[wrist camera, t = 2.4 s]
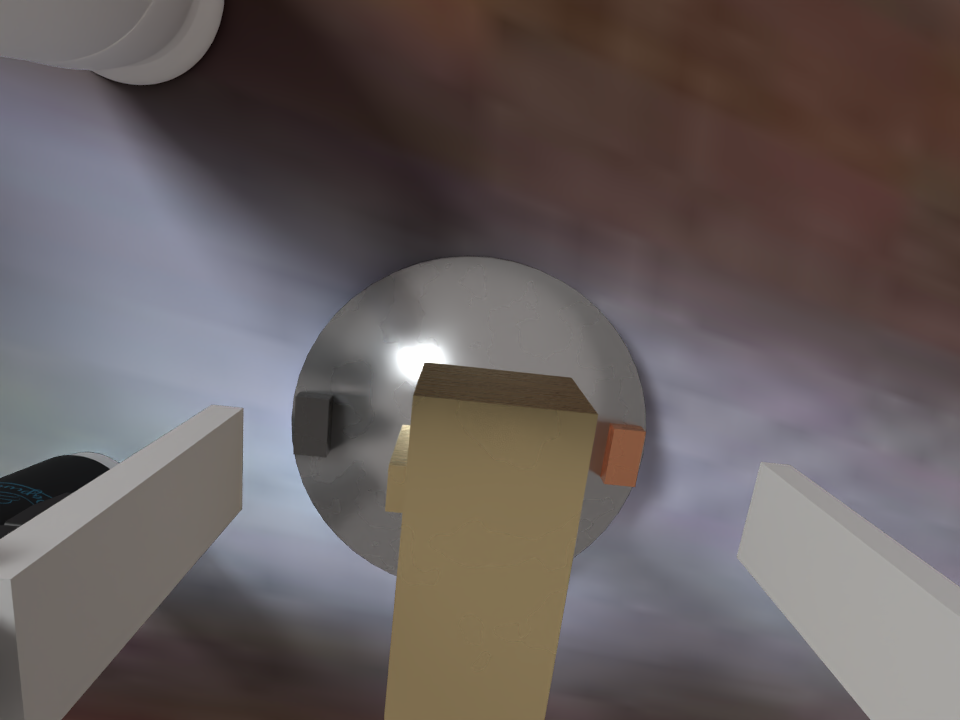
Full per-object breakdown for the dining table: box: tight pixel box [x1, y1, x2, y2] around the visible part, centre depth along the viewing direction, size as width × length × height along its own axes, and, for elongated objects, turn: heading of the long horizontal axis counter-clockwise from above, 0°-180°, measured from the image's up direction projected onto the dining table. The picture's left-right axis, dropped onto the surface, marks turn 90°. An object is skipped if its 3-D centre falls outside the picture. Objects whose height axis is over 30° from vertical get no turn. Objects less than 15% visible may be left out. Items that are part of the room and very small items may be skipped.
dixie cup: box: [0, 452, 119, 525], centre depth 23 cm, size 8×8×11 cm
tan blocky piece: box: [384, 362, 598, 720], centre depth 19 cm, size 7×13×13 cm, turn 173°
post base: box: [292, 256, 646, 576], centre depth 24 cm, size 18×18×8 cm
